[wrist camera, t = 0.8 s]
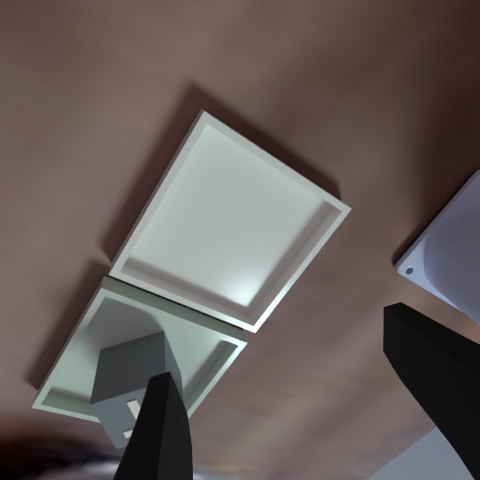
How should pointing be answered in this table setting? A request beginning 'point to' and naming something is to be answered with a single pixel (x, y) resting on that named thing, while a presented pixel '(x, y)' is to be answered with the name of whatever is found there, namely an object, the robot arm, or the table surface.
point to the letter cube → (129, 382)
